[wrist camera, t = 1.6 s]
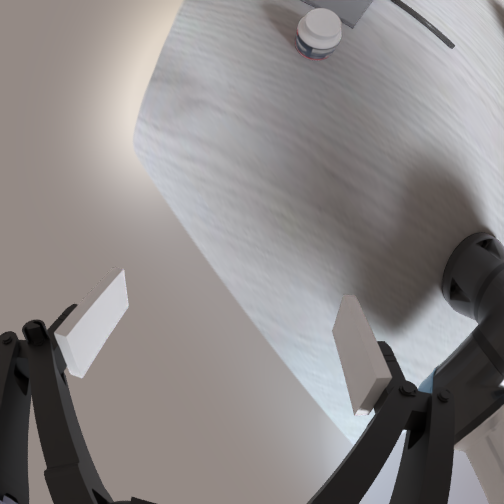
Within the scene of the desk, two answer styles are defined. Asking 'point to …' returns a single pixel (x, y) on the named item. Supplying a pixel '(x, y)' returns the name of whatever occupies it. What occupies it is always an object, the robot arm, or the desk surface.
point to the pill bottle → (318, 34)
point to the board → (355, 4)
